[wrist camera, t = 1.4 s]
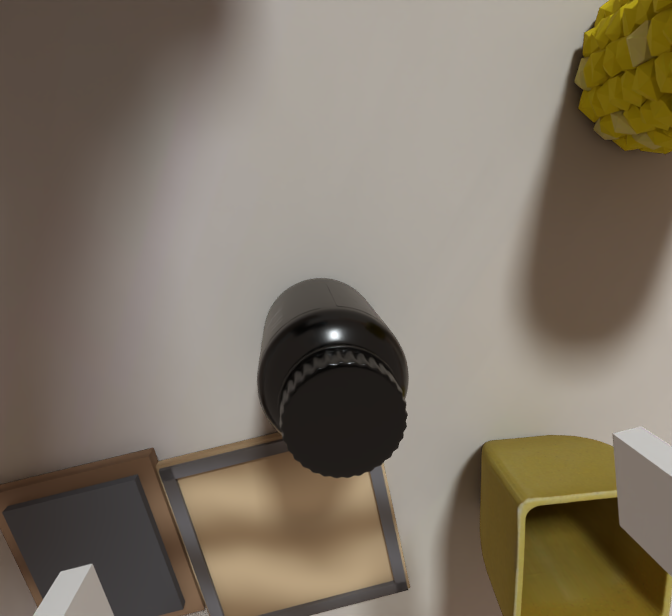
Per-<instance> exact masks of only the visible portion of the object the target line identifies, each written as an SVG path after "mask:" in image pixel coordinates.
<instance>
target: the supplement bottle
mask: <svg viewBox="0 0 672 616" xmlns="http://www.w3.org/2000/svg"><path fill="white" fill-rule="evenodd" d="M408 379H409V376H408V366H407V361H406V358H405V355H404V352H403V350H402V348H401V346H400V344H399V342H398V340H397V339H396V337H395V336H394V334H393V333H392V332H391V330H390V329H389V328H388V327H387V325H386V324H385V323H384V322H383V320H382V319H381V318H380V317H379V315H378V314H377V313H376V312H375V311H374V309H373V308H372V307H371V306H370V304H369V303H368V302H367V301H366V299H365V298H364V297H363V296H362V295H361V294H360V293H359V292H358V291H356V290H355V289H354V288H352V287H351V286H349V285H347V284H345V283H343V282H340V281H337V280H333V279H327V278H316V279H309V280H305V281H302V282H299V283H297V284H295V285H293V286H291V287H290V288H288V289H287V290H285V291H284V292H283V293H282V294H281V295H280V296H279V297H278V298H277V299H276V301H275V302H274V303H273V305H272V307H271V308H270V310H269V312H268V315H267V318H266V321H265V326H264V331H263V338H262V345H261V352H260V359H259V366H258V376H257V386H258V395H259V400H260V404H261V406H262V409H263V411H264V413H265V415H266V417H267V419H268V420H269V422H270V423H271V425H272V426H273V427H274V428H275V429H276V430H277V431H278V432H279V433H280V434H281V435H282V439H283V440H284V442H285V443H286V446H287V450H288V451H289V452H290V453H292V454H293V457H294V459H295V460H296V461H298V462H300V463H301V465H302V466H303V467H304V468H308V469H310V470H311V471H312V472H313V473H319V474H321V475H322V476H324V477H328V476H331V477H333V478H340V477H345V478H350V477H352V476H361V475H362V474H364V473H365V472H371V471H372V470H373V469H374V468H375V467H378V466H380V465H382V464H383V462H384V461H385V460H386V459H388V458H390V457H391V455H392V453H393V451H395V450H396V449H397V448H398V446H399V442H400V441H401V440H402V439H403V436H404V434H403V432H404V430H405V429H406V427H407V425H406V419H407V416H408V414H407V411H406V401H405V398H406V394H407V390H408Z"/></svg>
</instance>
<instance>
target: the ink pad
mask: <svg viewBox="0 0 672 616" xmlns="http://www.w3.org/2000/svg"><path fill="white" fill-rule="evenodd" d="M2 514H3V516H4V518H5V520H6V522H7V524H8V526H9V528H10V531H11V533H12V535H13V537H14V539H15V541H16V543H17V545H18V548H19V550H20V552H21V554H22V556H23V558H24V560H25V562H26V565H27V567H28V569H29V571H30V573H31V575H32V577H33V579H34V582H35V584H36V586H37V588H38V590H39V592H40V594H41V597H42V599H44V597H45V596H46V594H47V593H48V591H49V589H50V588H51V586H52V585H53V583H54V581H55V580H56V578H57V577H58V575H59V573H60V572H61V571H65V570H69V569H73V568H77V567H81V566H85V565H89V564H93V566H94V569H95V571H96V573H97V576H98V578H99V581H100V583H101V585H102V588H103V590H104V593H105V595H106V597H107V600H108V602H109V605H110V607H111V610H112V612H113V614H114V616H160V615H164V614H167V613H171V612H175V611H179V610H183V609H184V605H185V599H184V597H183V594H182V591H181V589H180V586H179V583H178V581H177V578H176V575H175V573H174V570H173V567H172V565H171V562H170V559H169V556H168V554H167V551H166V548H165V546H164V543H163V540H162V538H161V535H160V532H159V530H158V527H157V524H156V522H155V519H154V516H153V513H152V511H151V508H150V505H149V503H148V500H147V497H146V495H145V492H144V489H143V487H142V484H141V481H140V479H139V476H138V474H137V475H133V476H129V477H124V478H120V479H116V480H112V481H108V482H104V483H100V484H96V485H92V486H88V487H83V488H79V489H75V490H71V491H67V492H63V493H59V494H55V495H51V496H47V497H42V498H38V499H34V500H30V501H26V502H22V503H18V504H14V505H10V506H7V507H6V509H5V510H4V511H3V512H2Z"/></svg>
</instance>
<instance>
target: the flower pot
mask: <svg viewBox="0 0 672 616" xmlns="http://www.w3.org/2000/svg"><path fill="white" fill-rule="evenodd" d="M480 539H481V548H482V554H483V559H484V563H485V566H486V570H487V573H488V576H489V579H490V581H491V584H492V587H493V590H494V593H495V595H496V598H497V601H498V604H499V606H500V609H501V612H502V614H503V616H669V611H670V604H671V596H672V577H671V576H670V575H669V574H668V573H667V572H666V571H665V570H664V569H663V568H662V567H661V566H660V565H659V564H658V563H657V562H656V561H655V560H654V559H653V558H652V557H651V556H650V555H649V554H648V553H647V552H646V551H645V550H644V549H643V548H642V547H641V546H640V545H639V544H638V543H637V542H636V541H635V540H634V539H633V538H632V537H631V536H630V535H629V534H628V533H627V532H626V531H625V530H624V529H623V528H622V527H621V526H620V524H619V511H618V498H617V485H616V472H615V459H614V447H613V446H611V445H608V444H605V443H603V442H600V441H596V440H593V439H588V438H583V437H576V436H565V435H547V436H536V437H526V438H515V439H503V440H492V441H488V442H486V443H485V444H484V445H483V448H482V457H481V504H480Z"/></svg>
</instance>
